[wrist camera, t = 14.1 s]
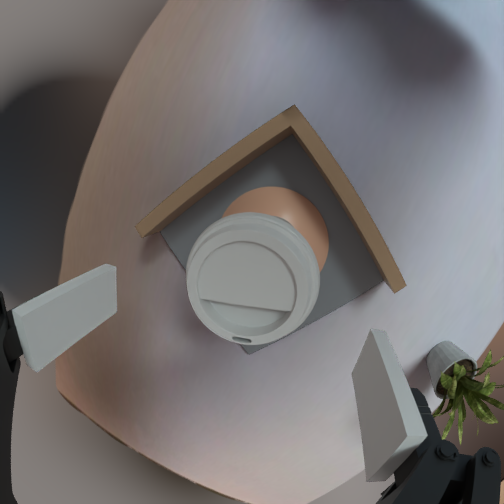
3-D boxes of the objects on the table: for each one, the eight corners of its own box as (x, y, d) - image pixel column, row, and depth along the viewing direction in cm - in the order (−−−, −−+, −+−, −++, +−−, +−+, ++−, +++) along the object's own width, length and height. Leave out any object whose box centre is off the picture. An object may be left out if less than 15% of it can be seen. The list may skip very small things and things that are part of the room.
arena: (295, 116, 29) (294, 104, 24) (393, 271, 31) (406, 285, 26) (155, 220, 35) (134, 226, 30) (249, 352, 37) (242, 373, 32)
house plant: (492, 304, 29) (554, 357, 13) (470, 378, 32) (509, 441, 16) (416, 314, 31) (470, 391, 16) (399, 392, 34) (424, 473, 19)
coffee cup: (217, 259, 33) (158, 312, 19) (252, 186, 31) (209, 188, 16) (287, 297, 33) (275, 375, 19) (328, 227, 30) (351, 263, 16)
